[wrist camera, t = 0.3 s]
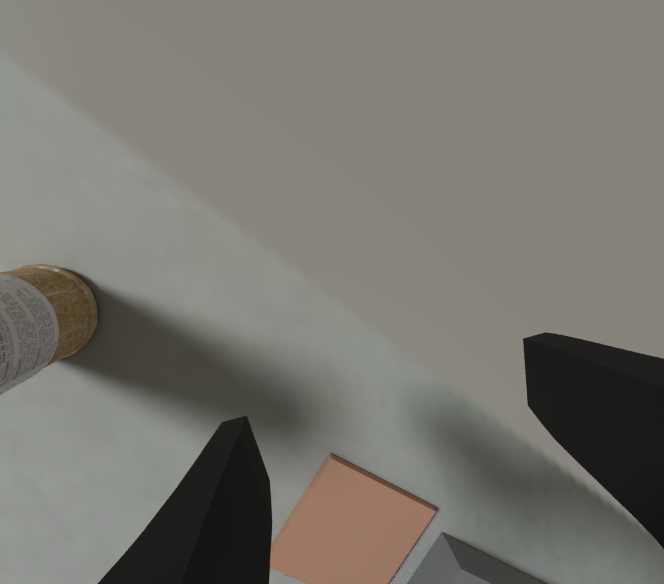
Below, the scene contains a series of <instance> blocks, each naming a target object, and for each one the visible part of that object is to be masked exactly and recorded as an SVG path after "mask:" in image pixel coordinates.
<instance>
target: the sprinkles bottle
mask: <svg viewBox="0 0 664 584" xmlns="http://www.w3.org/2000/svg"><path fill="white" fill-rule="evenodd" d="M97 323H98V317H97V305H96V301H95V298H94V296H93V294H92V293H91V290H90V288H89V287H88V286H87V285H86V284H85V283H84V282H83V281H82V280H81V279H79V278H78V277H77V276H75V275H74V274H73V273H71V272H69V271H66V270H65V269H62V268H60V267H57V266H49V265H29V266H23V267H21V268H19V269H16V270H13V271H7V272H1V273H0V395H1V394H3V393H5V392H6V391H8V390H10V389H11V388H13V387H15V386H17V385H19V384H20V383H22V382H24V381H26V380H27V379H29V378H31V377H33V376H34V375H36V374H37V373H38V372H40V371H41V370H42V369H43V368H45V367H46V366H48V365H50V364H52V363H53V362H55V361H57V360H59V359H63V358H66V357H68V356H71V355H73V354H75V353H76V352H77V351H79V350H80V349H81V348H83V347H84V346H85V344H86V343H87V342H88V341H89V340H90V338H91V337H92V335H93V333H94V331H95V328H96V326H97Z"/></svg>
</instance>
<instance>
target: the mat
mask: <svg viewBox="0 0 664 584" xmlns="http://www.w3.org/2000/svg"><path fill="white" fill-rule="evenodd" d="M435 513H436V510H435V509H434V507H433V505H431V504H429V503H427V502H425V501H423V500H421V499H419V498H417V497H415V496H413V495H411V494H409V493H407V492H405V491H403V490H401V489H399V488H397V487H396V486H394V485H392V484H390V483H388V482H386V481H384V480H382V479H380V478H378V477H376V476H374V475H372V474H370V473H368V472H366V471H364V470H362V469H360V468H358V467H356V466H354V465H352V464H350V463H348V462H346V461H344V460H342V459H341V458H339V457H337V456H335V455H333V454H331V453H330V455H329V456H328V458H327V460H326V461H325V463H324V464H323V466H322V467H321V469H320V470H319V472H318V474H317V475H316V477H315V478H314V480H313V481H312V483H311V485H310V486H309V488H308V489H307V491H306V492H305V494H304V495H303V497H302V499H301V500H300V502H299V503H298V505H297V506H296V508H295V510H294V511H293V513H292V514H291V516H290V517H289V519H288V520H287V522H286V524H285V525H284V527H283V528H282V530H281V531H280V533H279V535H278V536H277V538H276V539H275V541H274V542H273V544H272V545H271V555H270V568H272V569H275V570H277V571H279V572H282V573H284V574H286V575H289V576H291V577H293V578H296V579H298V580H300V581H303V582H305V583H307V584H388V583H389V581H390V580H391V578H392V577H393V575H394V574H395V572H396V571H397V569H398V568H399V566H400V565H401V563H402V562H403V560H404V559H405V557H406V556H407V554H408V553H409V551H410V550H411V548H412V547H413V545H414V544H415V542H416V541H417V539H418V538H419V536H420V535H421V533H422V532H423V530H424V529H425V528H426V526H427V525H428V523H429V522H430V520H431V519H432V517H433V516H434V514H435Z"/></svg>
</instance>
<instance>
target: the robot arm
mask: <svg viewBox="0 0 664 584" xmlns="http://www.w3.org/2000/svg"><path fill="white" fill-rule="evenodd" d="M523 343H524V356H525V371H526V384H527V400H528V406H529V408H530V409H531V410H532V411H533V413H534V414H535V415H536V416H537V418H538V419H539V420H540V422H541V423H542V424H543V426H544V427H545V428H546V429H547V430H548V432H549V433H550V434H551V435H552V436H553V438H554V439H555V440H556V441H557V442H558V443H559V444H560V445H561V446H562V447H563V448H564V449H565V450H566V451H567V452H568V453H569V454H570V455H571V456H572V457H573V458H574V459H575V460H576V461H577V462H578V463H579V464H580V465H581V466H582V467H583V468H584V469H586V471H587V472H588V473H590V474H591V475H592V476H593V477H594V478H595V479H596V480H597V481H598V482H599V483H600V484H601V485H602V486H603V487H604V488H605V489H606V490H607V491H608V492H609V493H610V494H611V495H612V496H613V497H614V498H615V499H616V500H617V501H618V502H619V503H620V504H622V505H623V506H624V507H625V508H626V509H627V510H628V511H629V512H630V513H631V514H632V515H633V516H634V517H635V518H636V519H637V520H638V521H639V522H640V523H641V524H642V525H643V526H644V527H645V529H646V530H647V531H648V532H649V533H650V534H651V535H652V536H653V537H654V538H655V539H656V540H657V541H658V542H659V544H660V545H661V546H662V547H663V548H664V359H662V358H658V357H654V356H649V355H645V354H640V353H636V352H632V351H627V350H624V349H619V348H615V347H611V346H607V345H603V344H599V343H594V342H590V341H586V340H582V339H577V338H573V337H568V336H564V335H558V334H553V333H542V334H538V335H535V336H531V337H528V338H524V339H523ZM271 536H272V508H271V492H270V480H269V477H268V474H267V471H266V468H265V466H264V463H263V460H262V457H261V454H260V452H259V449H258V446H257V443H256V440H255V438H254V435H253V432H252V429H251V426H250V424H249V421H248V418H247V416H243V417H240V418H236V419H233V420H229V421H225V422H222V423H221V425H220V426H219V427H218V429H217V430H216V432H215V433H214V435H213V436H212V437H211V439H210V440H209V442H208V443H207V445H206V446H205V448H204V449H203V451H202V452H201V454H200V455H199V457H198V458H197V460H196V461H195V462H194V464H193V465H192V467H191V468H190V469H189V471H188V472H187V474H186V475H185V477H184V478H183V479H182V481H181V482H180V484H179V485H178V487H177V488H176V489H175V491H174V492H173V493H172V494H171V496H170V497H169V498H168V500H167V501H166V502H165V504H164V505H163V506H162V507H161V509H160V510H159V511H158V513H157V514H156V515H155V517H154V518H153V519H152V520H151V522H150V523H149V524H148V526H147V527H146V528H145V530H144V531H143V532H142V533H141V534H140V536H139V537H138V538H137V539H136V541H135V542H134V543H133V544H132V545H131V546H130V548H129V549H128V550H127V551H126V552H125V554H124V555H123V556H122V557H121V558H120V559H119V560H118V562H117V563H116V564H115V565H114V566H113V567H112V568H111V569H110V570H109V572H108V573H107V574H106V575H105V576H104V577H103V578H102V579H101V581H100V582H99V583H98V584H269V572H270V555H271Z"/></svg>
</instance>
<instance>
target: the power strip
mask: <svg viewBox="0 0 664 584" xmlns="http://www.w3.org/2000/svg"><path fill="white" fill-rule="evenodd" d="M408 584H545V583H543V582H541V581H539V580H537V579H535V578H533V577H531V576H529V575H527V574H525V573H523V572H521V571H519V570H517V569H515V568H513V567H511V566H509V565H507V564H505V563H503V562H501V561H499V560H497V559H495V558H493V557H490V556H488V555H486V554H484V553H482V552H480V551H478V550H476V549H474V548H472V547H470V546H468V545H466V544H464V543H462V542H460V541H458V540H456V539H454V538H452V537H450V536H448V535H446V534H444V533H441V535H440V536H439V538H438V539H437V540H436V542H435V543H434V545H433V546H432V548H431V549H430V551H429V552H428V554H427V555H426V557H425V558H424V560H423V561H422V563H421V564H420V566H419V567H418V569H417V570H416V572H415V573H414V575H413V576H412V578H411V579H410V581H409V582H408Z"/></svg>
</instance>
